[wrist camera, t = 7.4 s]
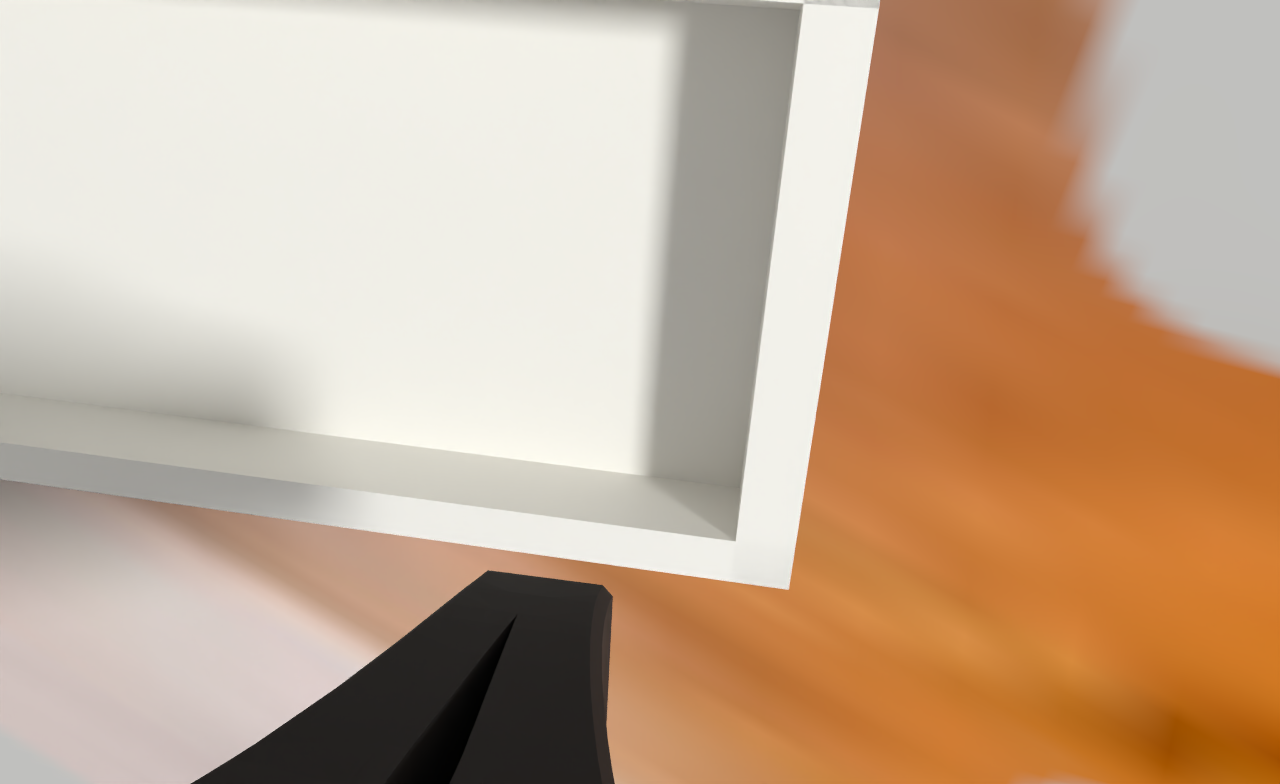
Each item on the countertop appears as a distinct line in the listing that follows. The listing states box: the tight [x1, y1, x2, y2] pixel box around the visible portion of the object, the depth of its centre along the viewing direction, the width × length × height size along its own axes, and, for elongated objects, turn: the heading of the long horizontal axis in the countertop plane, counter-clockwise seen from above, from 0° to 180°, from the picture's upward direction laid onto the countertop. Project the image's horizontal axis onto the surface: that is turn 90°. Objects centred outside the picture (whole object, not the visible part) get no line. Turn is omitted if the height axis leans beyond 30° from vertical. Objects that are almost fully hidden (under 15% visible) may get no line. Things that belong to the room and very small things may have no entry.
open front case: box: [0, 0, 880, 590], centre depth 16 cm, size 10×17×4 cm, turn 86°
